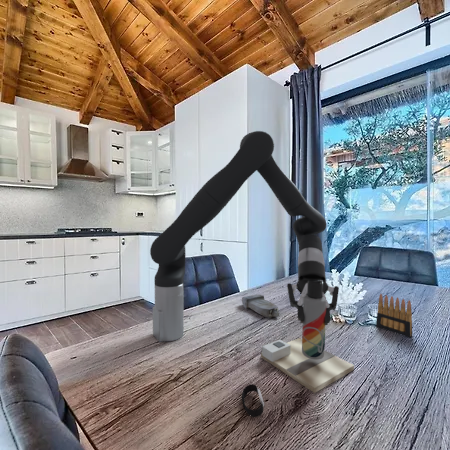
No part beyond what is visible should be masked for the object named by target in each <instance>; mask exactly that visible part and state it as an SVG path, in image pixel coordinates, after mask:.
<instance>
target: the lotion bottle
mask: <svg viewBox="0 0 450 450" xmlns="http://www.w3.org/2000/svg"><path fill="white" fill-rule="evenodd" d="M326 300H327V297H326V298H324V297H323V281H322V280H319V279H315V280H308V287H307V295H306V296H304V299H303V323H302V328H301V329H302V331H301V336H302V337H301V339H302V353H303V355H304V356H306V357H307V358H310V359H315V360H318V359H322V358H323V357H324V353H325V351H326V349H325V348H326V346H325V345H326V328H327V327H326V326H327V325H325V314H326Z"/></svg>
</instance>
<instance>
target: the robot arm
mask: <svg viewBox="0 0 450 450" xmlns="http://www.w3.org/2000/svg"><path fill="white" fill-rule="evenodd" d="M274 149H275V143H274V138H273V137H272V136H271V134H269V133H267V132H266V131H263V130H262V131H261V130H256V131H252V132H249V133H247V134H245V135H244V136H242V139H241V140H240V144H239V149H238V151H236V153H235V154H234V156H233V157H232V158H231V160H230V161H229V162H228V163H227V164H226V165H225V166H224V167H223V168H222V169H220V170H219V171H218V172H216V173H215V174H214V175H213V176H212V177H211V178H210V179H208V180H207V182H206V183H204V184H203V185H202V186H201V188H200V189H199V190H198V191H197V192H196V194H195V195H194V196H193V197H192V199H191V200H190V201H189V202H188V203H187V204H186V206H185V207H184V208H183V210H182V211H181V212H180V214H179V215H178V216H177V217H176V219H175V220H174V221H172V223H171V224H170V225H169V226H168V227H167V228H166V229H165V230H163V232H161V233H160V234H159V235H158V236H157V237H156V238H155V239H154V241H152V244H151V245H150V250H149V253H150V258H151V260H152V261H153V262H154V263H155V264H157V265H158V267H157V271H156V274H155V275H154V282H153V283H154V306H152V335H153V337H154V338H155V340H157V341H158V342H159V343H161V342H172V341H176V340H180V339H181V338H182V337H184V333H185V331H184V330H185V329H184V328H185V327H184V325H185V324H184V279H185V278H184V277H185V273H186V245H187V244H188V242H189V241H190V240H191V238H193V237H194V236H195V235H196V233H198V232H200V231H201V230H202V229H203V228H204V227H206V226H207V225H208V224H209V223H211V222H212V221H213V220H214V219H215V218H216V217H217V216H218V215H219V214H220V213H221V212H222V210H223V209H224V208H225V207H226V206H227V205H228V203H229V202H230V201H231V200H232V198H233V197H234V196H235V195H236V194H237V193H238V191H239V190H240V189H241V187H242V186H243V184H244V183H246V181H247V180H248V179H249V178H250V177H251V176H252V175H253V174H254V173H255V172H258V174H260V176H261V177H262V178H263V180H264V181H265V183H267V185H268V186H269V189H270V190H271V191H272V192H273V194H274V196H275V197H276V198H277V200H278V202H279V203H280V204H281V206H282V208H283V209H284V210H285V212H286V213H287V214H288V215H289V216H290V217H299V216H301V217H299V218H297V219H296V220H294V222H293V224H292V229H293V232H294V234H295V237H296V240H297V245H298V256H297V257H298V258H297V279H298V280H297V282H296V284H294V283H293V284H292V283H287V285H286V288H287V295H288V299H289V304H290V307H291V308H296V309H297V320H298V321H300V322H299V323H300V324H303V299H304V296H306V295H307V287H308V280H315V279H319V280H322V281H323V297H324V298H326V314H325V325H326V326H328V325H329V324H330V323H331V311H335V310H336V308H337V305H338V299H339V290H340V288H339V286H338V285H335V286H334V287H333V286H329V285H328V283H327V281H326V280H327V278H326V268H325V267H326V263H325V259H324V254H323V243H322V240H321V238H320V237H319V236H318V234H320V233H323V232H324V231H326V228H327V221H326V219H325V217H324V216H323V214H322V213H321V212H320V211H319V210H317V209H316V208H314V207H313V206H312V205H311V204H310V203H309V202H308V201H307V200H306V199H305V197H304V196H303V195H302V193H301V191H300V190H299V188H298V187H297V186H296V184H295V183H294V182H293V181H292V180H291V179H290V177H288V176H287V174H286V173H285V172H284V170H282V168H281V167H280V166H279V165H278V163H277V162H276V160H275V158H274V157H273V153H274ZM296 290H297V291H298V293H300V296H299V299H298V301H297V300H296V298H295V294H294V293H295V292H296ZM328 292H329V295H330V296H332V297H331V303H329V301H328V299H327V296H326V293H328Z"/></svg>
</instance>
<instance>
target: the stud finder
mask: <svg viewBox="0 0 450 450" xmlns="http://www.w3.org/2000/svg"><path fill="white" fill-rule="evenodd" d="M287 343H288V342H285V341H283V340H282V339H278V340H275V341H272V342H269V343H267V344H265V345H262V346H261V353H262V356H264V357H266V358H267V359H269V360H270V361H272V362H273V361H276V360H278V359H280V358H282V357H285V356H287V355H289V354H291V345H289V344H287Z"/></svg>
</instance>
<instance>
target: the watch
mask: <svg viewBox="0 0 450 450" xmlns="http://www.w3.org/2000/svg"><path fill="white" fill-rule="evenodd" d="M251 392H255V393H257V395H258V399H259V401H260V406H259V407H258V408H256V409H251V408H249V407H247V405H246V401H245V399H246V396H247V395H248V394H249V393H251ZM244 398H245V399H244ZM241 402H242V407H243V408H244V409H245V412H246V411H247V412H246V413H247V415H248V416H250V415H251V416H250V417H252V418H258V417H260V416H261V415H262V414H263V413H264V412H263V411H264V407H265V402H264V399H263V395H262V392H261V389H260V388H258V387H257V385H256V384H253V383H252V384H251V383H250V384H248V385H246V386H245V387H244V388H243V389H242V393H241Z"/></svg>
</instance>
